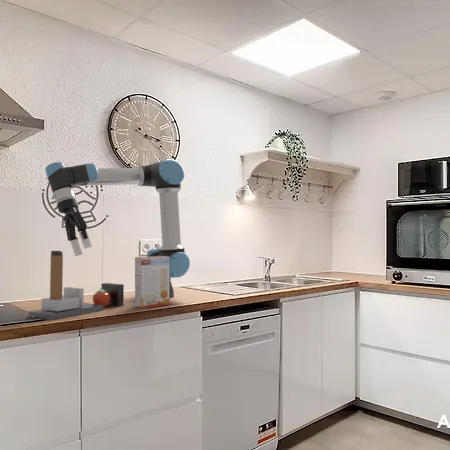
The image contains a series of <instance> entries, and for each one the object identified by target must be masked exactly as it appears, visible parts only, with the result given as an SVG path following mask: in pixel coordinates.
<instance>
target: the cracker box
mask: <svg viewBox="0 0 450 450" xmlns="http://www.w3.org/2000/svg"><path fill="white" fill-rule="evenodd" d="M168 305H170V298H169V257H168V256H153V257H147V256H136V257H134V306H135V307H136V308H141V309H145V308H146V309H147V308H152V307H162V306H168Z"/></svg>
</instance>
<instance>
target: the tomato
mask: <svg viewBox="0 0 450 450" xmlns="http://www.w3.org/2000/svg"><path fill="white" fill-rule="evenodd" d="M91 298H92V304H98V305H103V309H105V308H107V307H108V306H109V305H108V304H109V303H110V300H111V296H110V294H109V293H107V292H106V291H105V290H103V288H100V289H99V290H97V291H96V292H95V293H94V294H93V295H92V297H91Z"/></svg>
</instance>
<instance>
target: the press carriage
mask: <svg viewBox="0 0 450 450" xmlns="http://www.w3.org/2000/svg"><path fill="white" fill-rule="evenodd" d="M63 256H64V255H63V250H51V251H50V270H49V271H50V272H49V273H50V275H49V277H50V279H49V285H50V286H49V297H43V298H41V300H40V301H41V305H40V306H41V308H40V309H43V310H50V311H63V310H68V309H74V308H80V307H83V303H84V295H85V294H84V292H85V291H84V289H85V288H82V287H70V286H67V287H63V269H64V268H63V265H64V264H63V263H64V257H63Z"/></svg>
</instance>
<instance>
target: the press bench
mask: <svg viewBox="0 0 450 450" xmlns="http://www.w3.org/2000/svg"><path fill="white" fill-rule="evenodd" d="M124 286H125V285H124V284H123V283H112V282H104V283H101V288H103V290H105V291H106V292H107V293H109V294H110V296H111V300H110V303H109V304H108V306H111V307H118V308H119V307H124V301H125V300H124V295H125V294H124V290H125V289H124V288H125V287H124ZM101 288H100V289H101ZM103 310H104V308H103V305H98V304H94V303H90V302H89V303H88V302H83V307H80V308H74V309H68V310H63V311H50V310H43V309H41V308H40V309H34V310H28V317H29V316H33V317H38V318H37V319H40V318H43V319H42V320H47V321H52V320H57V319H63V318H69V317H74V316H80V315H85V314H91V313H95V312H101V311H103ZM33 317H32V318H33Z"/></svg>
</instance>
